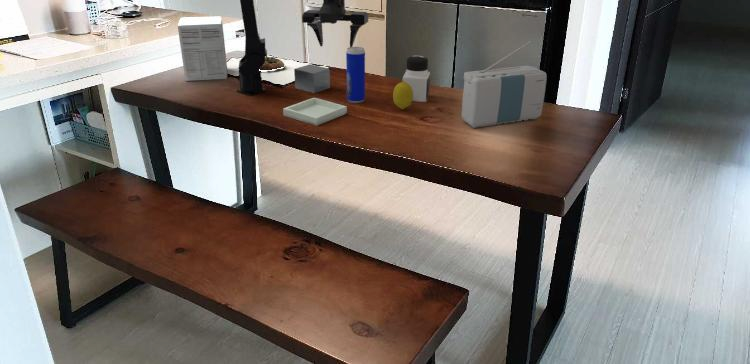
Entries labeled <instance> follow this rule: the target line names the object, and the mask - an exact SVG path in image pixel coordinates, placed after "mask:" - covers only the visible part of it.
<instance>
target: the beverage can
mask: <svg viewBox="0 0 750 364" xmlns="http://www.w3.org/2000/svg"><path fill="white" fill-rule="evenodd" d="M345 52H346V58H345V59H346V63H345V64H346V99H347V101H348V102H349V103H351V104H352V103H353V104H361V103H362V102H364V101H365V100H366V53H365V48H364V47H361V46H352V47H350V46H349V47H347V48H346V51H345Z"/></svg>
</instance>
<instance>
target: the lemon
mask: <svg viewBox="0 0 750 364" xmlns="http://www.w3.org/2000/svg"><path fill="white" fill-rule="evenodd" d="M392 100H393V103H394V105H395V106H396V107H398V108H399V109H400V110H405V109H406V108H408V107H410V106H411V105H412V102H413V101H412V100H413V90H412V88H411V86H410V85H409V84H407V83H405V82H404V81H403V80H402V81H401V82H399V83H398V84H396V85H395V87H394V88H393V93H392Z"/></svg>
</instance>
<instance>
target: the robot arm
mask: <svg viewBox="0 0 750 364" xmlns="http://www.w3.org/2000/svg"><path fill="white" fill-rule="evenodd" d="M239 2H240V9H241V15H242V21H243V22H242V23H243V28H244V34H245V35H244V36H245V41H244V43H245V44H244V55H243V56H242V57H241V59H240V60H239V62H238V78H239V79H238V80H239V87H240V88H237V89H236V92H238V93H241V94H244V95H248V96H253V95H256V94H260V93H262V92H265V91H266V92H267V89H266V87H263V78H262V72H261V71H259V68H260V67H261V66H262V65H263V64H264V63H265V57H268V50H267V48H266V38H265V37H264V38H261V37H260V33H259V31H258V23H257V15H256V10H255V9H256V8H255V4H254V3H255V2H254V0H239ZM345 3H346V2H345V0H323V2H322V5H321V7H320V9H307V10H306V11H303V13H302V14H301V22H302V23H306V26H308V27H310V28H311V29H312V30H313V32H314V34H315V36H316V39H317V42H318V44H319V47H323V45H324V36H323V34H324V33H323V24H332V25H334V24H336V23H338V21H339V22H340V21H341V22H350V24H351V25H349V31H350V34H349V47H354V43H355V40H356V37H357V34H358V32H359V30H360V28H361V27H363V26H364V25H366V24H367V23H369V14H368V13H367V11H353V13H351V14H348V13H347V14H346V11H347V10H346V8H345V7H346V4H345Z"/></svg>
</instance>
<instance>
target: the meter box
mask: <svg viewBox="0 0 750 364" xmlns="http://www.w3.org/2000/svg"><path fill="white" fill-rule="evenodd" d="M293 72H294V89H298V90H299V91H300V90H301V91H305V92H309V93H312V94H316V93H319V92H321V91H325V90H328V89H330V88H331V75H330V74H331V73H330V68H329V67H324V66H319V65H316V64H315V65H314V64H311V63H309V64H306V65H303V66H299V67H296V68H294V71H293Z"/></svg>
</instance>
